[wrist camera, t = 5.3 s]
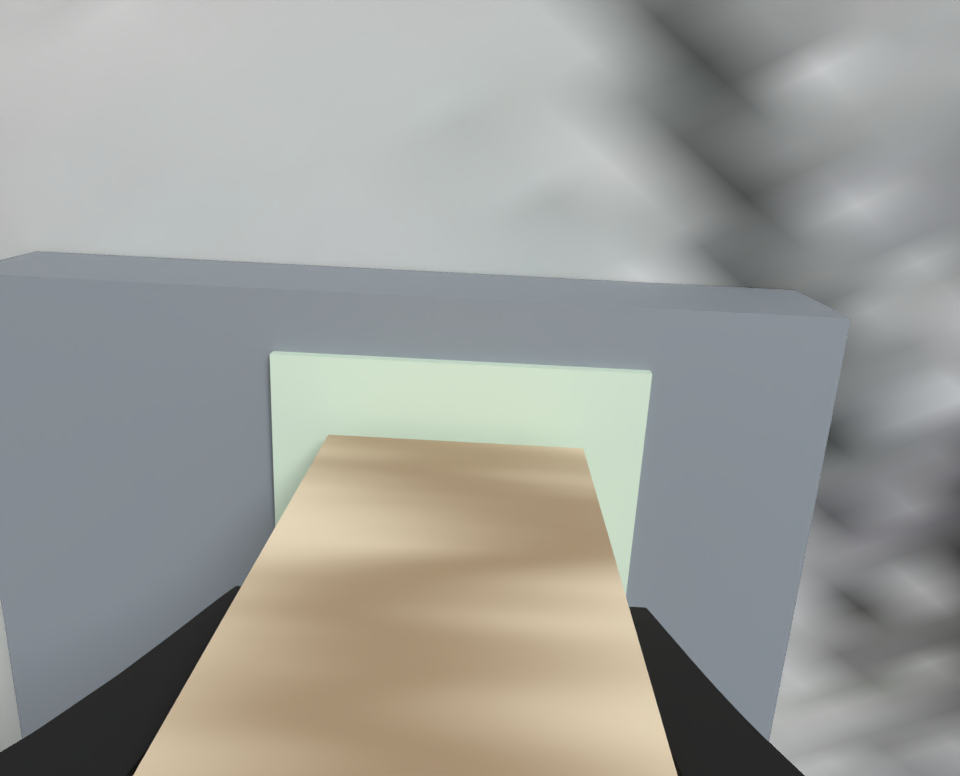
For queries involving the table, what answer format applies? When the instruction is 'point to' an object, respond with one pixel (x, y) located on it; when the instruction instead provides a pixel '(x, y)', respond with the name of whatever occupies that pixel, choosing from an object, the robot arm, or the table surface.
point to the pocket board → (391, 414)
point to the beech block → (425, 628)
